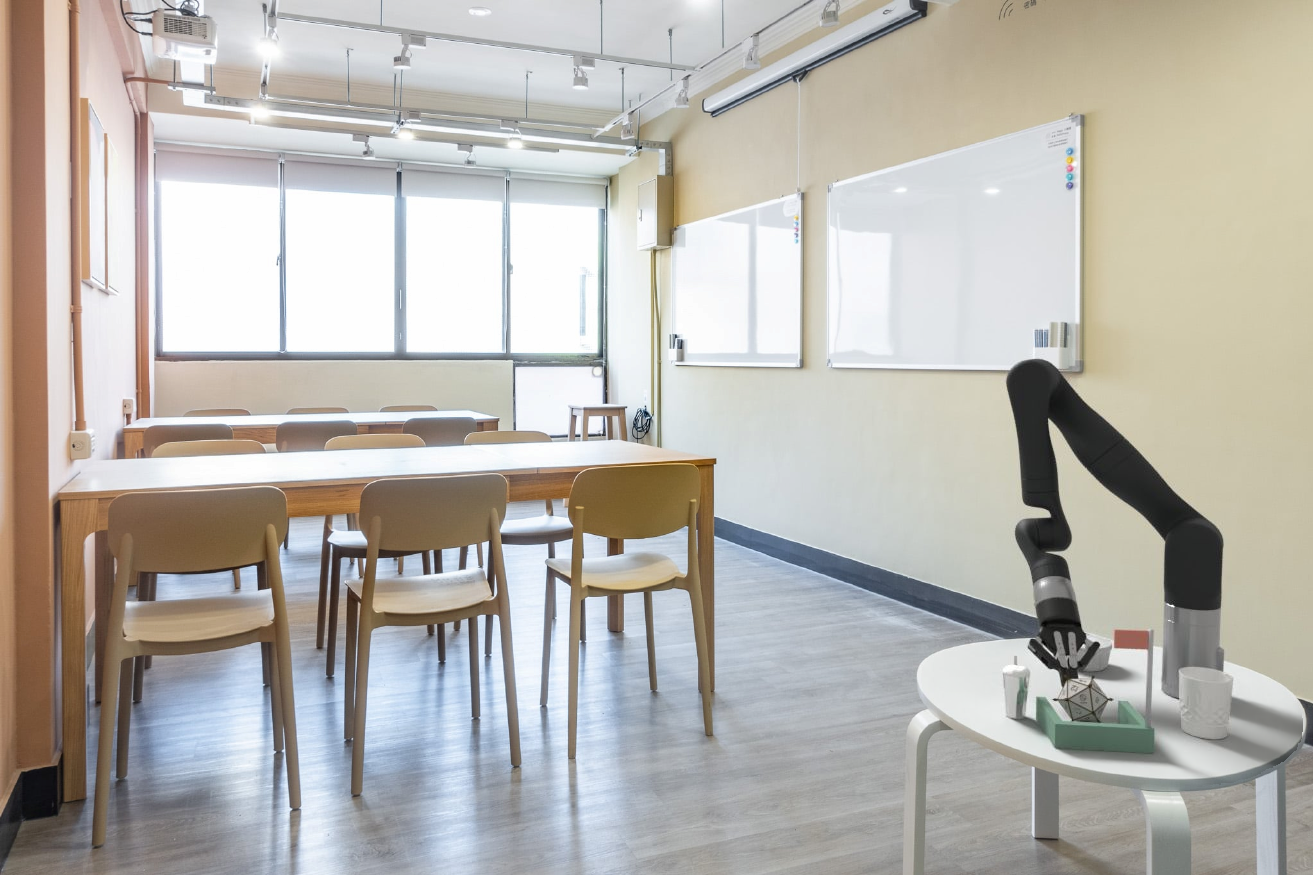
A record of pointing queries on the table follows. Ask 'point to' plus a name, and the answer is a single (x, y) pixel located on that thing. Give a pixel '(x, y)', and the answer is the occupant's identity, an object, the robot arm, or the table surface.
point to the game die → (1082, 699)
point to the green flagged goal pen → (1105, 736)
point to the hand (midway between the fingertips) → (1071, 689)
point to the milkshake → (1016, 689)
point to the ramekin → (1097, 654)
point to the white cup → (1205, 701)
